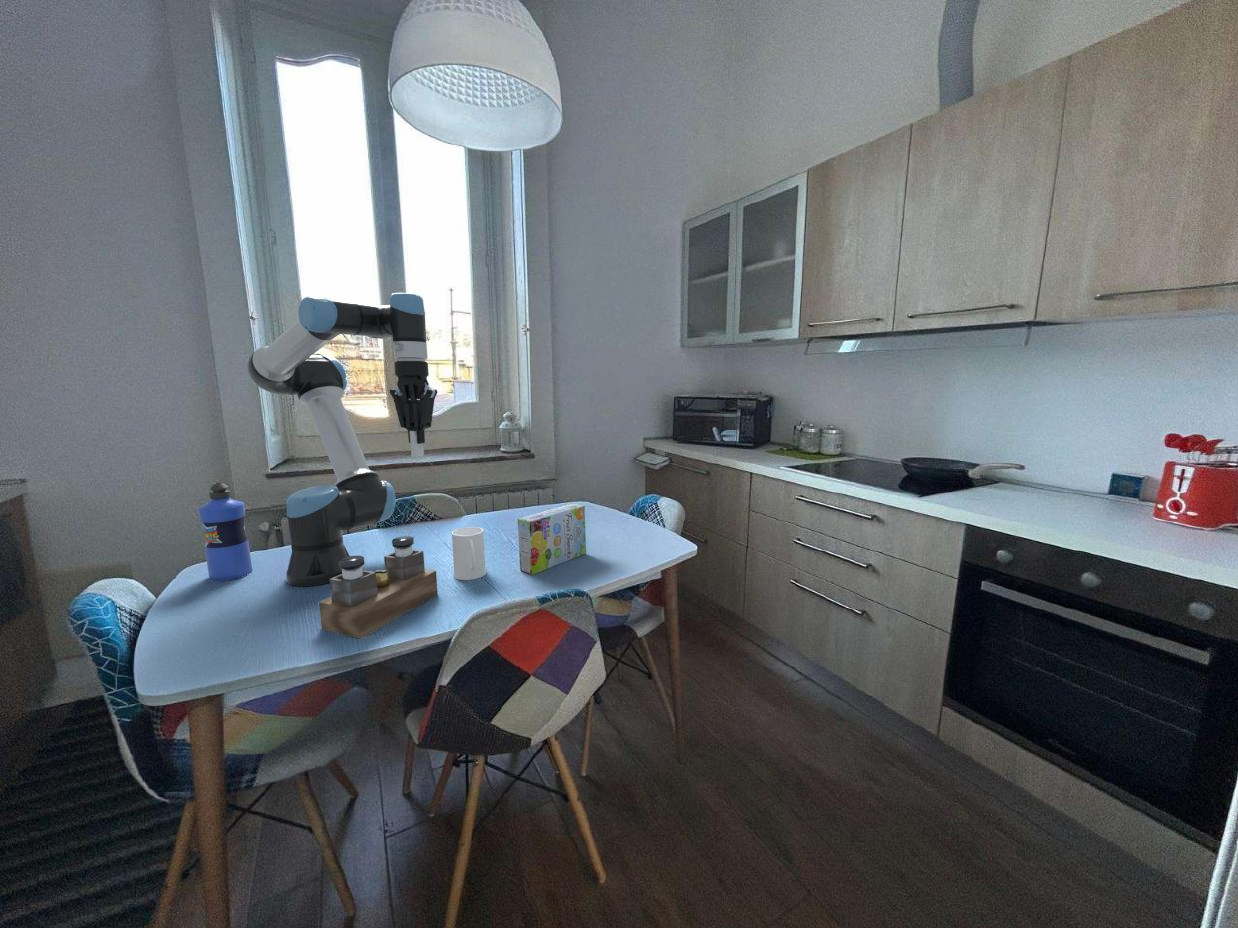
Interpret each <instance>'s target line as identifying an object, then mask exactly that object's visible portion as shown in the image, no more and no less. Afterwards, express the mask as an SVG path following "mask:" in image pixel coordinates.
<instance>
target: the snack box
mask: <svg viewBox="0 0 1238 928" xmlns="http://www.w3.org/2000/svg"><path fill="white" fill-rule="evenodd" d="M585 507H586V506H585V505H582V504H577V503H570V504H566V505H563V506H560V507H555V508H551V509H547V510H545V511H541V512H538V513H534V514H530V515H527V516H523V517H520V518H517V530H518V531H517V532H518V534H517V535H518V548H519V549H518V552H519V569H520V571H521V572H524V573H526V574H529V575H532V576H533V575H535V574H538V573H541V572H544V571H545V570H548V569H551V568H553V567H556V566H558V565H560V564H563V563H567V562H568V561H571V560H574V559H575V558H578V557H581V556H584V555H585V554H587V541H586V539H587V537H586V508H585Z"/></svg>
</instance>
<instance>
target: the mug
mask: <svg viewBox="0 0 1238 928" xmlns="http://www.w3.org/2000/svg"><path fill="white" fill-rule="evenodd" d="M484 533H485V532H484V528H482V527H477V526H466V527H460V528H455V530H453V531H452V532H451V541H452V557H453V559H452V560H453V575H452V577H453V578H454V579H456V580H459V581H473V580H478V579H480V578H483V577H484V576H486V574H487V567H486V557H485V556H486V554H485V553H486V550H485V534H484Z"/></svg>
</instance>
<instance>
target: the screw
mask: <svg viewBox="0 0 1238 928" xmlns="http://www.w3.org/2000/svg"><path fill="white" fill-rule="evenodd" d="M374 572H376V580H377V588H383V587H387V586H388V585H389V574H388V571H387V570H385V569H379V570H378V569H377V570H375V571H374Z"/></svg>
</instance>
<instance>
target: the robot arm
mask: <svg viewBox="0 0 1238 928" xmlns="http://www.w3.org/2000/svg"><path fill="white" fill-rule="evenodd" d="M299 304H300V305H299V306H298V308H297V309H298V310H297V313H298V314H297V317H298V319H297V320H296V321H295V322H294V323H292V325H290V327H287V329H286V330H285V331H284V332H282V334H280V335H279V336H278V337H277V338H276V339H274V341H273V342H271V343H270V344H269V345H264V346H261V347H259V348H257V349H256V350H255V351H254V352H253V353H252V354H251V355H250V357H249V358H248V361H247V373H248V375H249V377H250V379H251V380H252V382H253V383H255V385H256V386H258V388H260V389H262V390H264V391H266V392H269V393H271V394H274V395H287V396H289V395H292V396H295V395H296V396H297V397H298V400H299V403H300V404H301V405H302V406H303V407H304V406H305V407H308V409H309V412H310V414H311V417H312V419H313V421H314V424H315V427H316V429H317V432H318V435H319V437H320V440H321V441H322V444H323V447H324V449H325V452H326V455H327V457H328V460H329V462H330V464H331V467H332V470H333V473H334V475H335V477H336V479H337V480H336V481H335V483H334V484H323V485H319V486H318V485H315V486H311V487H307V488H304V489H300V490H297V491H296V492H293V493H292V494H291V495H289V496H288V497H287V500H286V514H285V515H286V517H287V525H288V531H289V536H290V537H289V540H290V546H291V553H290V558H289V560H288V566H287V570H286V573H285V574H286V575H285V576H286V582H287V584H289V585H291V586H295V587H296V586H297V587H311V586H319V585H325V584H330V579H331V578H333V577H336V576H338V575H340V574H342V569H341V568H339V560H340V559H342V558H345V557H349V556H350V554H349V551H348V550H347V548H346V546H345V544H344V537H343V535H344V534H343V532H345V531H350V530H354V529H357V528H361V527H366V526H369V525H377V524H378V523H380V522H383V521H386V520H388V519H389V518H390V517H391V516H392V515H393V513H394V511H395V509H396V508H395V507H396V504H397V503H396V492H395V489H394V487H393V485H392V484H391V483H390V482H389V481H386V480H384V479H383V480H381V479H380V477H379V474H378V472H376V471H374V470H372V469H370V468H369V465H368V463H367V461H366V460H367V459H366V457H365V455H364V453H363V450H362V448H361V445H360V443H359V441H358V438H357V435H356V433H355V430H354V428H353V426H352V424H351V421H350V418H349V416H348V413H347V410H346V408H345V406H344V404H343V402H342V398H343V397H344V395H345V390H346V389H347V386H348V380H347V379H346V378H348V377H347V373H346V371H345V367H344V366H343V365H342V363H341V362H340V361H339V360H338V359H337V358H335V357H333V356H331V355H328V354H327V355H326V354H321V353H317V352H318V351H319V350H321V349H322V348H323V347H324V346H326V345H327V344H328V343H330V342H331V341H332V340H333V339H335V338H337V336H340V335H352V336H361V337H363V336H364V337H368V338H372V339H379V340H380V339H381V340H382V339H385V338H392V344H393V345H392V346H393V358H394V359H395V360H396V361H394V373H395V376H396V377H397V378H398V379H397V383H396V387H395V388H393V389H392V388H391V389H389V393H390V396H391V397H392V399H393V402H394V406H395V410H396V413H397V414H396V415H397V418H398V422H399V425H400V427H401V428H402V429H406V430H407V436H408V443H409V444H410V451H411V452H410V454H411V458H421V457H424V456H425V450H424V449H425V447H424V444H425V442H426V439H425V438H426V437H425V434H426V433H425V430H426V429H429V428H432V421H433V413H434V408H435V407H434V406H435V399H436V397H437V395H438V390H437V389H434V388H433V387H430V383H429V381H428V377H429V363H428V362H427V361H426V360H428V357H429V356H428V346H427V345H428V343H427V331H426V330H427V329H426V328H427V327H426V312H425V306H424V299H423V297H422V296H421V295H418V294H416V293H410V292H395V293H394V292H393V293H391V294H390V296H389V301H388V305H375V304H367V303H360V302H355V301H353V302H352V301H345V300H338V299H332V298H327V297H324V296H322V297H321V296H318V297H317V296H306V297H304V298H302V299H301V301H300V302H299Z"/></svg>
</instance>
